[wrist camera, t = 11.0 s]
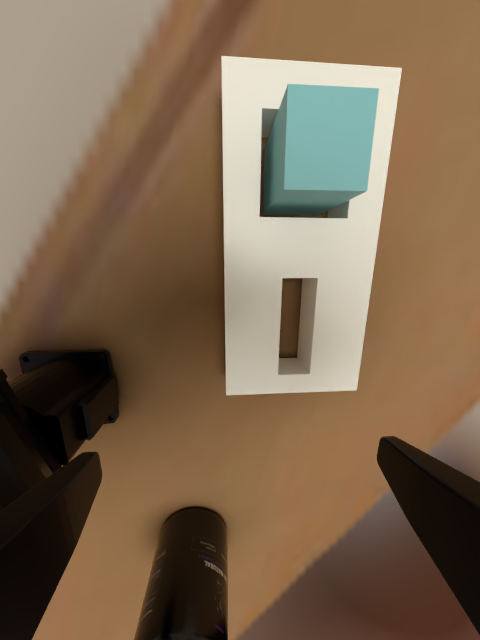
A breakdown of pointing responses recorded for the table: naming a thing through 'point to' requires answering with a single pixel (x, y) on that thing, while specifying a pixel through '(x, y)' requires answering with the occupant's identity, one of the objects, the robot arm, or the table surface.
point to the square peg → (318, 149)
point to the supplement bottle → (188, 581)
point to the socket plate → (296, 238)
